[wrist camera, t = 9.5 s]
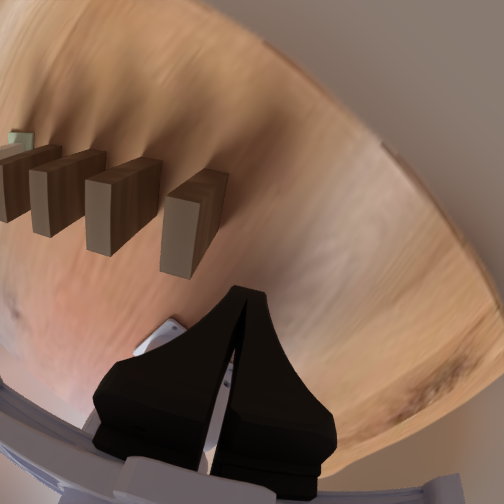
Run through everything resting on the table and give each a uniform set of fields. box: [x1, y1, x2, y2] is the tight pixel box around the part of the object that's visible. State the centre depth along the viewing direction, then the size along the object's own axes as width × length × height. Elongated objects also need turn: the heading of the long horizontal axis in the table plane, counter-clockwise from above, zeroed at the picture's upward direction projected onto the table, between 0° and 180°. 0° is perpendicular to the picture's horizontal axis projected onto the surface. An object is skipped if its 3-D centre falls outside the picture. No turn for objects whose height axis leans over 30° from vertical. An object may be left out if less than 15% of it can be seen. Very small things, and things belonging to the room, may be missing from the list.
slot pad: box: [8, 132, 34, 152], centre depth 22 cm, size 4×6×1 cm, turn 168°
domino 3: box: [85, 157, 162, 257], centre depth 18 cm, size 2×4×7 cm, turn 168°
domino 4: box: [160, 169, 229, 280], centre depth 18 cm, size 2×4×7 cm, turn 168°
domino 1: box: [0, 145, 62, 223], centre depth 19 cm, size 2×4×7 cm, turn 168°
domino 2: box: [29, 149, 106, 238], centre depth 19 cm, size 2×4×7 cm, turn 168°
